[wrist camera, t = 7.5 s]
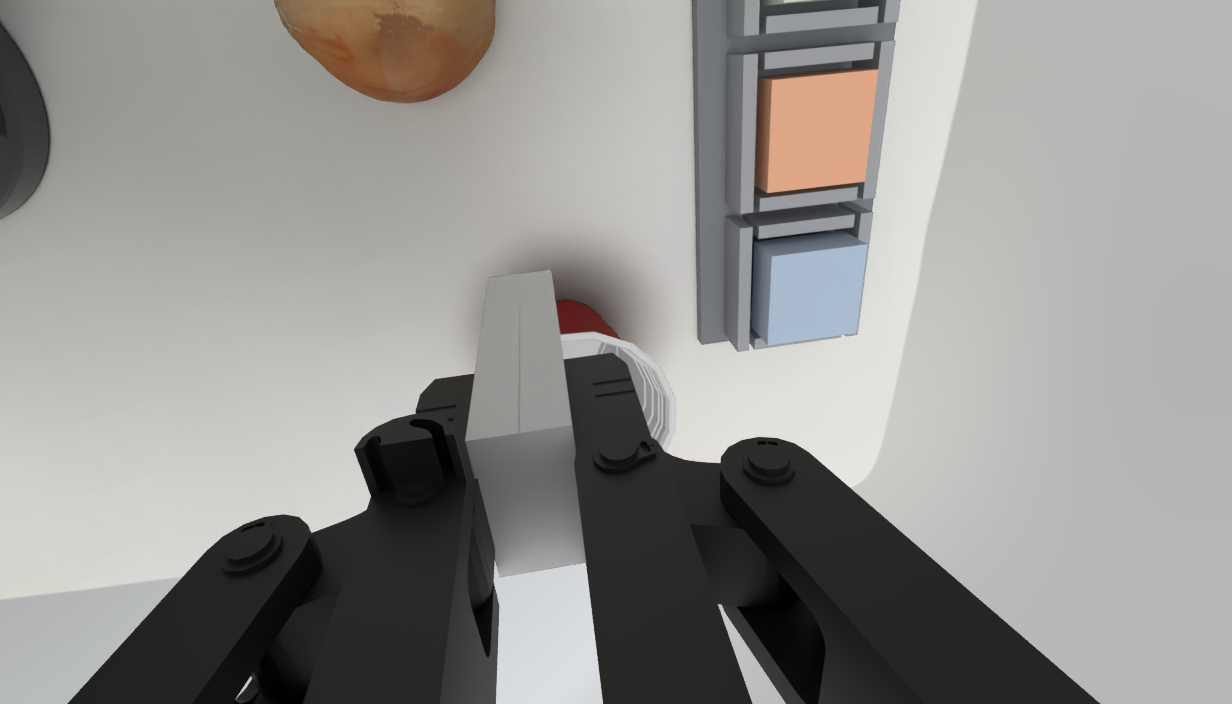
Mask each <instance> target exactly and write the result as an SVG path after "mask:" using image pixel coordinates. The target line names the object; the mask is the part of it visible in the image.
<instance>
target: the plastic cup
mask: <svg viewBox="0 0 1232 704" xmlns="http://www.w3.org/2000/svg"><path fill="white" fill-rule="evenodd" d="M556 308H557V315H558V322H559V329H560V336H561V343H562V350H563V357H564V359H570V358H577V357H584V356H591V355H598V354H606V353H614V354H615V355H617V356H618V357H619V358H620V359H622V360H623V361H624V362H626V363H627V365H628V368H629V371H630V374H631V377H632V380H633V383H634V386H635V389H636V392H637V395H638V398H639V401H640V404H641V407H642V410H643V413H644V416H645V419H646V422H647V425H648V428H649V431H650V434H651V437H652V438H654V439H655V440H657V441H658V443H659V444H660V445H661V447H662V448H663V450H664V451H665V452H666V451H667V449H668V447H669V444H670V442H671V440H672V438H673V436H674V433H675V416H676V398H675V395H674V393H673V391H672V389H671V387H670V385H669V383H668V380H667V378H666V376H665V374H664V372H663V370H662V368H661V366H659V365H658V364H657V363H656V362H655V361H653V360H652V359H651V358H650V357H649V356H647V355H646V354H645V353H644V352H643V351H641V350H640V349H639V348H638V347H637V346H635V345H634V344H633V343H631V342H627V341H624V340H621V339H620V338H619V336H618V335H617V334H616V333H615V332H614V330H613V329H612V328H611V327H610V326H608V325H607V324H606V323H605V321H604V320H603V319H602V317H601V316H600V315H599V314H597V313H596V312H595V311H594V310H593V309H591V308H590V307H589V306H587V305H586V304H582V303H579V302H576V301H572V300H563V301H556Z"/></svg>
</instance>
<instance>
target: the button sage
mask: <svg viewBox="0 0 1232 704" xmlns="http://www.w3.org/2000/svg"><path fill="white" fill-rule="evenodd" d="M819 1H830V0H762V7H763V6H774V5H785V4H796V3H808V2H819Z"/></svg>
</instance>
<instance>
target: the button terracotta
mask: <svg viewBox="0 0 1232 704" xmlns="http://www.w3.org/2000/svg"><path fill="white" fill-rule="evenodd" d="M877 76H878V69H863V68H844V69H834V70H824V71H814V72H804V73H794V74H784V75H774V76H764V77H757V105H756V138H755V170H754V185H755V186H756V187H758V188H760V189H761V190H763V191H765V192H766V193H772V192H781V191H789V190H798V189H806V188H815V187H823V186H832V185H840V184H849V183H857V182H865V177H866V168H867V160H868V152H869V143H870V135H871V126H872V118H873V110H874V101H875V93H876V85H877Z"/></svg>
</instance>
